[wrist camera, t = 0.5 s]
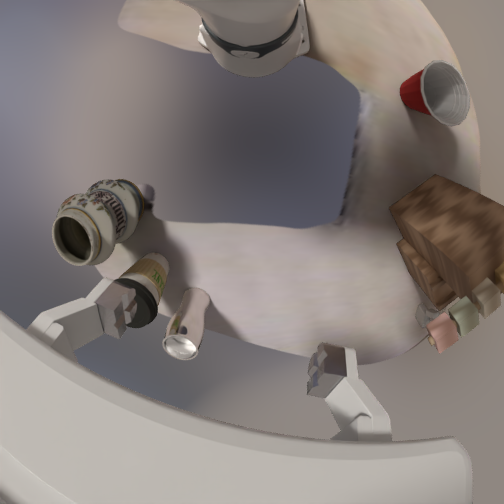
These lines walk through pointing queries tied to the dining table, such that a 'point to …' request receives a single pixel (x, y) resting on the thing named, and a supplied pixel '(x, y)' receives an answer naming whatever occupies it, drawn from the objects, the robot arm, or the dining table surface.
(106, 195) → the apothecary jar
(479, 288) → the bead bar
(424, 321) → the lighter
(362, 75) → the dining table surface
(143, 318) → the coffee cup
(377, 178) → the dining table surface
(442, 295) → the walnut display stand
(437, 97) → the plastic cup
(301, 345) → the dining table surface
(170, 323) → the beer glass
